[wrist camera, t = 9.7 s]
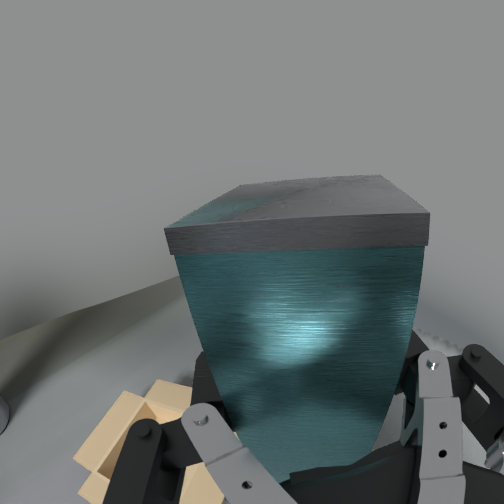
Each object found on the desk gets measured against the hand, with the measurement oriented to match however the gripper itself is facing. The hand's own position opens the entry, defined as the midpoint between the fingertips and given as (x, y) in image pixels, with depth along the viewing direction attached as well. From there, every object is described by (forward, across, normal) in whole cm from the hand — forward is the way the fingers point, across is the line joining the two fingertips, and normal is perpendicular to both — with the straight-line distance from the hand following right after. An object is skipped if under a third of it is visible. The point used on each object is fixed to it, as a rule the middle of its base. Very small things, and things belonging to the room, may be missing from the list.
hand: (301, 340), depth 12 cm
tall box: (-2, 0, +10) cm, 10 cm away
